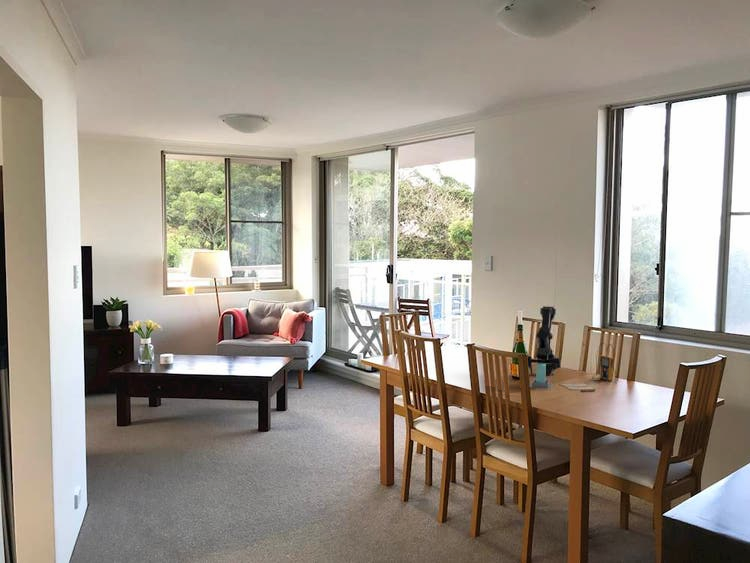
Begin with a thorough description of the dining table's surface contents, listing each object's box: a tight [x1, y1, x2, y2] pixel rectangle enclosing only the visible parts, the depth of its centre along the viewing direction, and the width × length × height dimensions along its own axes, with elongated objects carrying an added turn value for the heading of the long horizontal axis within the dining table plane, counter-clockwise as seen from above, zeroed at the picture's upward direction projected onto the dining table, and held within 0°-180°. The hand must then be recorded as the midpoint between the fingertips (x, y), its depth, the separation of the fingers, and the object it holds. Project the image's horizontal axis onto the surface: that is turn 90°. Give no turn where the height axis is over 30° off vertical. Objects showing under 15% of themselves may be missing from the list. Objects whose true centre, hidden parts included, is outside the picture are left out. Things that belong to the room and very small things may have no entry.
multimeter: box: [592, 342, 619, 383], centre depth 323 cm, size 15×10×20 cm
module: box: [535, 363, 547, 384], centre depth 307 cm, size 5×4×11 cm
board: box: [559, 382, 596, 393], centre depth 304 cm, size 13×13×1 cm
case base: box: [529, 378, 553, 390], centre depth 307 cm, size 14×11×3 cm
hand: (540, 375), depth 305 cm, fingers open, 9 cm apart
